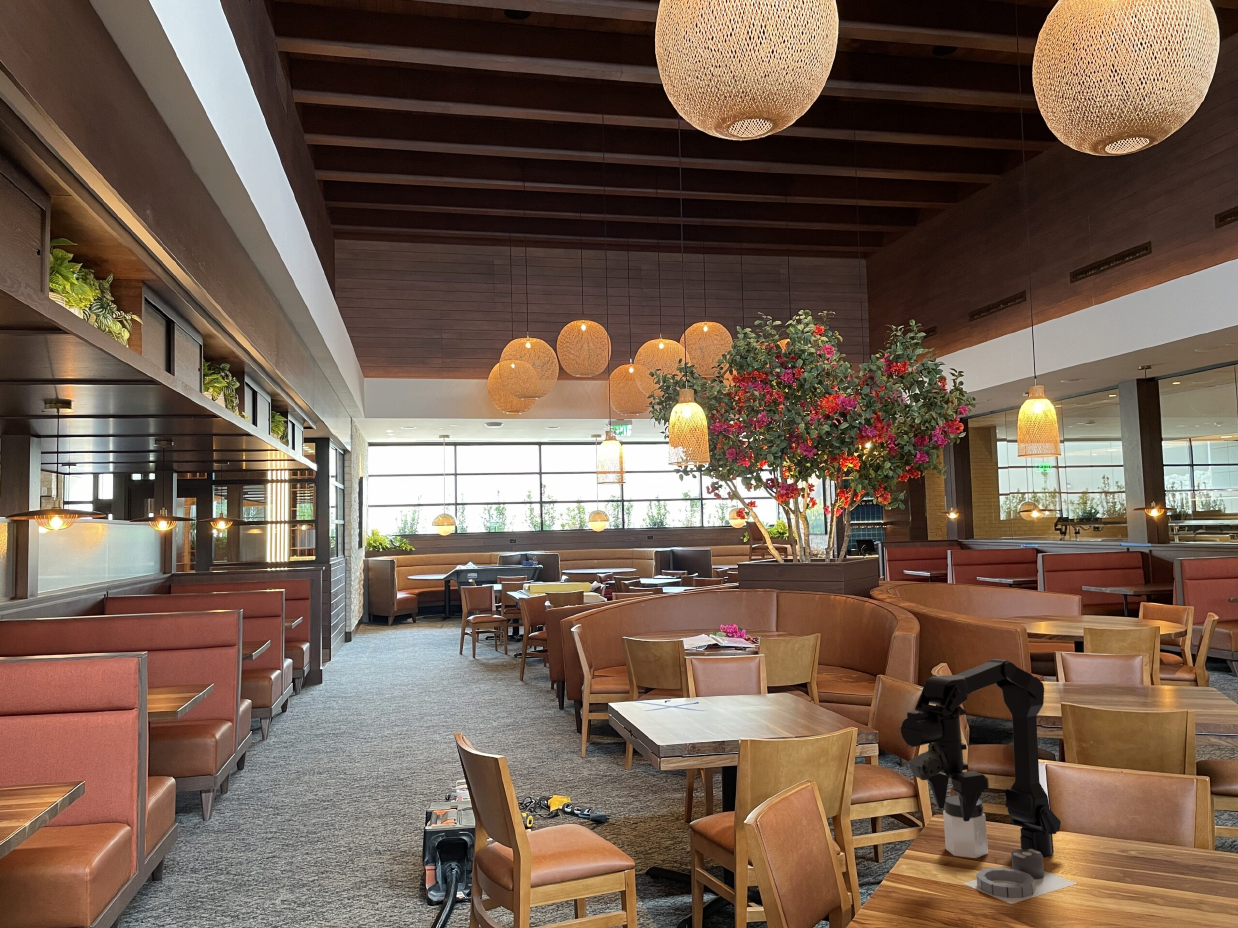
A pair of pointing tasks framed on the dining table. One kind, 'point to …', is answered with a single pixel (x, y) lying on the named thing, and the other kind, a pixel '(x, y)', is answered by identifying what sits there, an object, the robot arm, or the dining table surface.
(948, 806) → the jar
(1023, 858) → the cap
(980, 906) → the dining table surface
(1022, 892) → the plate
